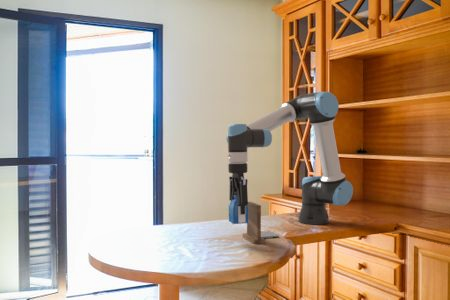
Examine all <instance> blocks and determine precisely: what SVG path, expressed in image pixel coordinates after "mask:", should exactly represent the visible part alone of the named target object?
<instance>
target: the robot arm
mask: <svg viewBox="0 0 450 300" xmlns="http://www.w3.org/2000/svg"><path fill="white" fill-rule="evenodd" d="M339 108H340V107H339V101H338V99H337V97H336V96H335V95H334V94H333V93H332V92H330V91H318V92H317V91H316V92H312V93H303V94H300V95H298V96H296V97H294V98H292V99H291V100H288V101H286V102H284V103H283V104H281V107H279V108H277V109H276V110H273V111H272V112H269V113H267V114H266V115H264V116H261V117H259V118H258V119H256V120H253V121H251V122H250V123H248V124H246V123H230V124H229V125H228V128H227V134H226V142H227V145H228V146H227V148H228V149H227V150H228V154H227V159H228V166H227V167H228V173H229V174H232V175H231V176H229V177H228V179H229V199H228V200H229V201H230V202H231V201H232V200H235V198H234V195H235V193H234V192H236V191H237V192H238V200H239V205H237V206H238V223H241V224H244V223H243V222H245V206H246V205H248V202H249V200H248V199H249V197H248V195H249V194H248V178H245V174H247V173H248V163H247V162H248V148H261V149H263V148H266V147H269V146H270V145H271V144H272V141H273V135H272V133H271V132H272V131H273V130H274V131H275V130H276V129H277V128H279V127H282V126H283V125H285V124H287V123H293V122H295V121H297V120H304V119H308V121H309V125H311V126H312V127H313V130H314V135H315V141H316V145H317V152H318V157H319V162H320V168H321V173H322V175H319V176H318V175H317V176H305V177H303V178H302V181H301V208H300V211H299V215H298V218H297V220H298V222H299V223H301V224H306V225H327V224H329V223H330V218H329V214H328V211H327V207H326V204H329V205H335V206H345V205H347V204H348V203H349V202H351V200H352V197H353V194H354V193H353V192H354V187H353V185H352V183H351V182H350V181H348V180H347V179H346V174H345V173H343V172H342V169H341V163H340V157H339V153H338V148H337V141H336V136H335V130H334V124H333V123H334V122H335V120H336V115H337V114H338V112H339Z"/></svg>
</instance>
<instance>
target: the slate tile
mask: <svg viewBox="0 0 450 300" xmlns="http://www.w3.org/2000/svg"><path fill="white" fill-rule="evenodd" d="M261 237H262V238H266V239H274V238H273V237H278V238H280V235H279V234H277V233H275V232H272V231H271V230H265V231H261Z"/></svg>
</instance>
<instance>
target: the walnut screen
mask: <svg viewBox="0 0 450 300" xmlns="http://www.w3.org/2000/svg"><path fill="white" fill-rule="evenodd" d="M247 206H248V223H246V233H242V236H241V237H242V238H243V239H245V240H246V241H248V242H250V243H252V244H254V245H260V244H259V243H261V244H266V239H267V238H266V239H264V238H262V237H261V232H262V224H261V223H262V205H261V204H258V203H255V202H252V201H248V205H247Z"/></svg>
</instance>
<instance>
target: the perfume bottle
mask: <svg viewBox="0 0 450 300" xmlns="http://www.w3.org/2000/svg"><path fill="white" fill-rule="evenodd" d="M234 193H235V195H234V198H235V200H232V201H231V200H230V203H229V204H228V222H230V223H231V224H232V225H236V224H237V225H240V224H241V225H242V224H247V223H248V206H247V205H246V206H245V222H243V223H238V206H237V205H239V200H238V192H237V191H236V192H234Z"/></svg>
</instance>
